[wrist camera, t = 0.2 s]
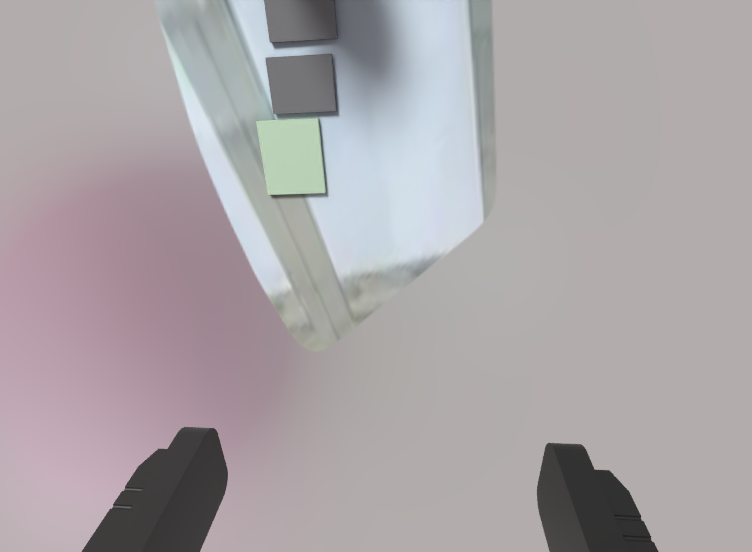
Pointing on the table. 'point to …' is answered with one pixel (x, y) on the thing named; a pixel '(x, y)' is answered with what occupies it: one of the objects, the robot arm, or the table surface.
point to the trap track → (297, 97)
